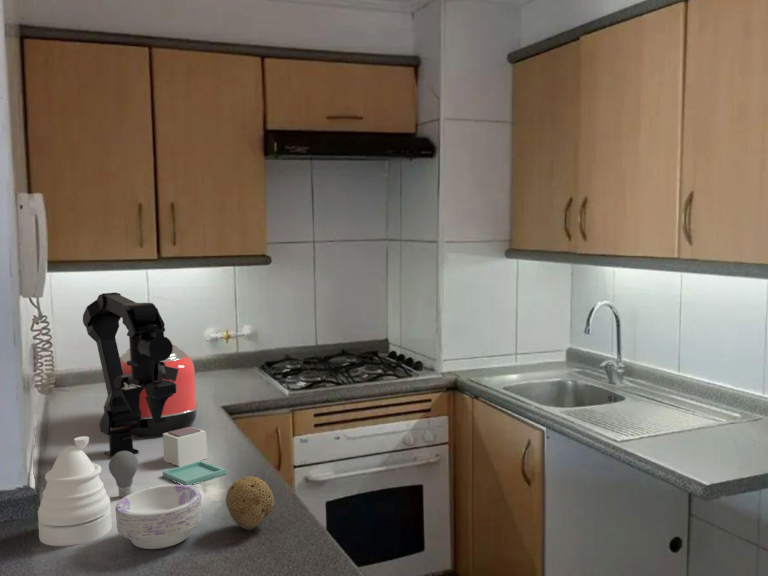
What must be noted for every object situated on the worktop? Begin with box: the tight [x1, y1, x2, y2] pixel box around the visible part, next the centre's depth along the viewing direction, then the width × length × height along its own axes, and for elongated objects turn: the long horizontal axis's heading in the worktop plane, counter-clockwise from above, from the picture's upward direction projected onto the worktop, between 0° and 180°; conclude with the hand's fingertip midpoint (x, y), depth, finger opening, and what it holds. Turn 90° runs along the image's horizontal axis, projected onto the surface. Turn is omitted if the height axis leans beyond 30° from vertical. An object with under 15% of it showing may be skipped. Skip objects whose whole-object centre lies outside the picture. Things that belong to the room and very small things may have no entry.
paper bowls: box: [115, 484, 203, 550], centre depth 134 cm, size 15×15×8 cm
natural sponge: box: [225, 475, 275, 531], centre depth 138 cm, size 9×9×10 cm
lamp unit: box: [162, 426, 208, 467], centre depth 180 cm, size 7×8×7 cm
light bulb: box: [108, 451, 139, 498], centre depth 156 cm, size 6×6×10 cm
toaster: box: [119, 344, 199, 439], centre depth 214 cm, size 32×23×23 cm
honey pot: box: [37, 435, 113, 547], centre depth 138 cm, size 13×13×18 cm
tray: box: [162, 460, 227, 486], centre depth 169 cm, size 10×10×1 cm
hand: (146, 419), depth 174 cm, fingers open, 9 cm apart
